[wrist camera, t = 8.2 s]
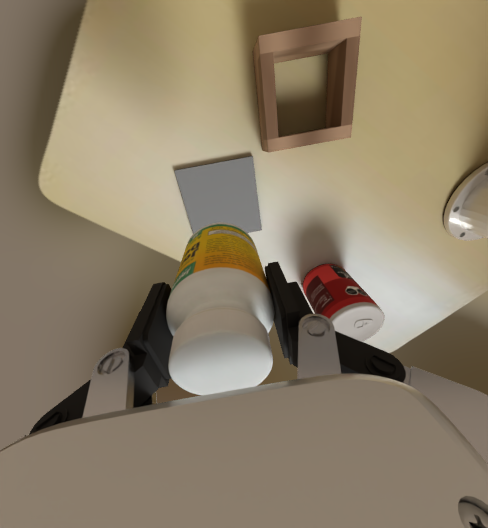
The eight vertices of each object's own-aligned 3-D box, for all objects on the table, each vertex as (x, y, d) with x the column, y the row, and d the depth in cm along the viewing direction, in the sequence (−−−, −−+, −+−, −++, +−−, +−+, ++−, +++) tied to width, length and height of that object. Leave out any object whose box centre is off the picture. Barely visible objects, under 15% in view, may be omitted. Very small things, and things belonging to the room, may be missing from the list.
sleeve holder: (340, 35, 22) (361, 16, 19) (334, 137, 27) (350, 137, 23) (252, 51, 22) (258, 35, 19) (262, 150, 27) (268, 152, 23)
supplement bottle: (244, 287, 18) (262, 411, 10) (180, 274, 17) (141, 403, 9) (266, 230, 16) (315, 332, 7) (193, 210, 14) (156, 305, 6)
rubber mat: (252, 156, 27) (252, 156, 27) (261, 228, 32) (261, 230, 32) (175, 170, 27) (174, 170, 27) (196, 240, 32) (196, 242, 32)
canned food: (349, 285, 39) (389, 331, 30) (310, 303, 41) (336, 353, 32) (338, 254, 36) (379, 295, 26) (295, 275, 37) (319, 322, 28)
